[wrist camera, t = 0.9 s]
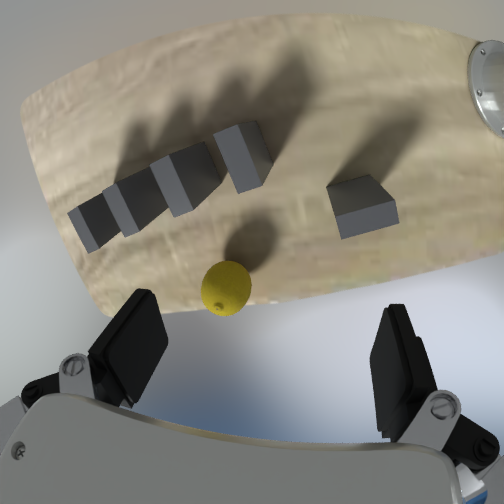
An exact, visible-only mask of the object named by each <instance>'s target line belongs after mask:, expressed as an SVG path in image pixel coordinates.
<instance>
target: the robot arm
mask: <svg viewBox="0 0 504 504" xmlns="http://www.w3.org/2000/svg"><path fill="white" fill-rule="evenodd" d="M468 82H469V88H470V92H471V96H472V99H473V101H474V104H475V106H476V108H477V110H478V112H479V115H480V116H481V118H482V119H483V121H484V122H485V124H486V125H487V126H488V127H489V128H490V129H491V130H492V131H493V132H494V133H495V134H497V135H498V136H500V137H502V138H504V43H502V42H499V41H495V40H490V41H485V42H481V43H480V44H478V45H477V46H476V47H475V48H474V49H473V51H472V53H471V55H470V58H469V63H468ZM167 346H168V337H167V333H166V330H165V327H164V324H163V320H162V317H161V314H160V310H159V307H158V304H157V300H156V297H155V294H153V293H152V291H151V290H148V289H140V288H138V289H136V290H135V292H134V293H133V294H132V295H131V296H130V298H129V299H128V300H127V301H126V303H125V304H124V305H123V306H122V308H121V309H120V310H119V311H118V313H117V314H116V315H115V316H114V318H113V319H112V320H111V322H110V323H109V324H108V325H107V327H106V328H105V329H104V331H103V332H102V333H101V335H100V336H99V337H98V338H97V340H96V341H95V342H94V344H93V345H92V347H91V348H90V349H89V351H88V352H89V355H88V356H87V357H86V356H85V355H83V354H79V353H76V354H72V355H70V356H68V357H66V358H65V359H64V360H63V361H62V363H61V365H60V368H59V372H58V373H55V374H52V375H49V376H46V377H43V378H41V379H37V380H34V381H32V382H30V383H28V384H27V385H26V386H25V387H24V388H23V390H22V393H21V398H20V397H19V396H16V397H15V398H13V399H12V400H10V401H9V402H7V403H6V404H4V405H3V406H1V407H0V504H463V502H462V496H463V497H464V499H465V501H466V504H504V455H503V456H502V457H501V456H500V454H499V450H500V446H499V442H498V440H497V438H496V437H495V436H494V435H493V434H492V433H490V432H488V431H487V430H485V429H484V428H482V427H481V426H479V425H478V424H476V423H474V422H473V421H471V420H470V419H468V418H467V417H465V416H463V415H462V414H460V413H461V404H460V401H459V399H458V398H457V396H456V395H454V394H453V393H452V392H449V391H447V390H438V389H437V386H436V382H435V379H434V375H433V372H432V369H431V365H430V362H429V359H428V356H427V353H426V351H425V347H424V344H423V342H422V339H421V338H420V337H419V336H418V337H416V335H415V333H414V330H413V327H412V324H411V321H410V318H409V316H408V313H407V310H406V308H405V305H404V304H390V305H389V307H388V308H384V311H383V315H382V318H381V322H380V325H379V328H378V332H377V335H376V338H375V342H374V345H373V348H372V351H371V355H370V368H371V375H372V383H373V390H374V399H375V408H376V419H377V429H378V431H379V432H380V431H382V438H390V439H391V442H385V443H303V442H287V441H275V440H265V439H256V438H248V437H241V436H234V435H228V434H221V433H216V432H211V431H206V430H201V429H196V428H192V427H187V426H182V425H178V424H174V423H170V422H166V421H163V420H159V419H155V418H151V417H148V416H145V415H141V414H138V413H135V412H132V411H129V410H125V409H122V408H119V406H120V404H121V405H122V406H125V407H128V408H132V407H133V405H134V403H137V402H138V401H139V399H140V397H141V395H142V393H143V391H144V389H145V387H146V385H147V383H148V382H149V380H150V378H151V376H152V374H153V372H154V370H155V368H156V366H157V365H158V363H159V361H160V359H161V357H162V355H163V353H164V351H165V350H166V348H167ZM461 490H462V492H461Z"/></svg>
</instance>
